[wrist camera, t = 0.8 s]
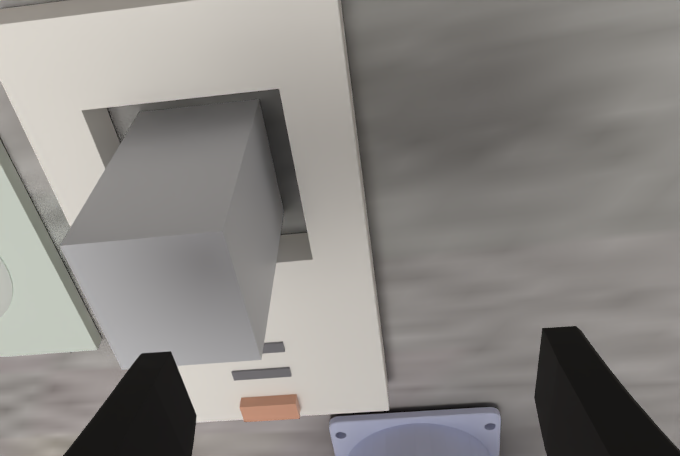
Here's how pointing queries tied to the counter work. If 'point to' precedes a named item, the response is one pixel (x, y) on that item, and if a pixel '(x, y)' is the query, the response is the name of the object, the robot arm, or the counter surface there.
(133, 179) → the block
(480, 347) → the counter surface
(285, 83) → the power strip
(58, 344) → the pad
